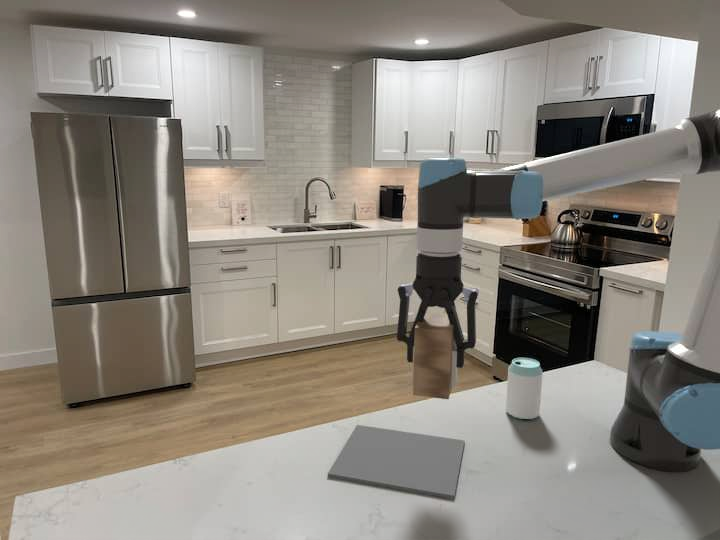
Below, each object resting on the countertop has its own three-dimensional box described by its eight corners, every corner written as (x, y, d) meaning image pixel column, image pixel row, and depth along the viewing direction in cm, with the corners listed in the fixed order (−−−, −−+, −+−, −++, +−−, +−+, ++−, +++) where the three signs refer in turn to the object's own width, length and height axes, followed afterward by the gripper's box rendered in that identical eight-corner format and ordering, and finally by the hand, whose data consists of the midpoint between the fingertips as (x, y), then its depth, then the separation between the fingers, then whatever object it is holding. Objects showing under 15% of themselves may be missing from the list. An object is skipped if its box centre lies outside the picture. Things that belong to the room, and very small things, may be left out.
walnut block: (454, 378, 96) (457, 315, 94) (448, 399, 88) (451, 330, 85) (421, 374, 98) (423, 312, 95) (413, 395, 89) (414, 327, 87)
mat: (464, 443, 103) (464, 440, 103) (454, 499, 86) (454, 495, 86) (357, 427, 109) (357, 424, 109) (327, 476, 92) (327, 473, 92)
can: (521, 424, 110) (525, 371, 108) (498, 410, 116) (501, 359, 114) (546, 417, 114) (550, 364, 111) (522, 403, 120) (526, 354, 117)
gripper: (498, 251, 89) (491, 379, 93) (388, 246, 94) (387, 367, 99) (497, 259, 82) (489, 397, 86) (378, 253, 87) (377, 383, 92)
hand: (434, 381), depth 93 cm, fingers closed on walnut block, 6 cm apart
